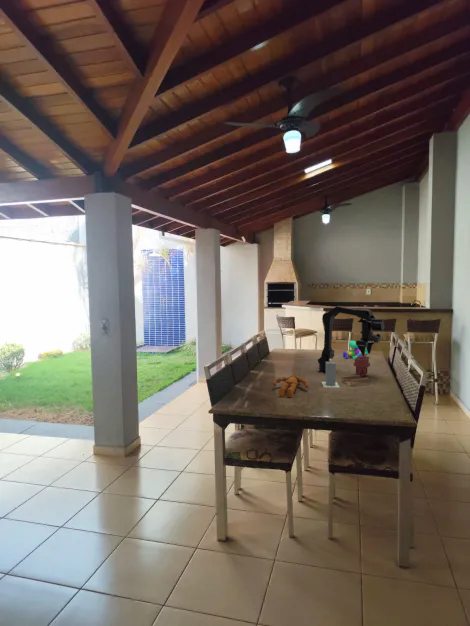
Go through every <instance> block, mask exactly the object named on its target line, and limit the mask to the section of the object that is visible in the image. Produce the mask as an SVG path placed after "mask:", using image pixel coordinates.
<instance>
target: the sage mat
mask: <svg viewBox="0 0 470 626" xmlns="http://www.w3.org/2000/svg"><path fill="white" fill-rule="evenodd" d="M321 383H322V387H323V388H340V385H339V384H338V381H335V386H326V381H321Z"/></svg>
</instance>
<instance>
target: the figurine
mask: <svg viewBox="0 0 470 626" xmlns="http://www.w3.org/2000/svg"><path fill="white" fill-rule="evenodd" d="M356 341H357V340H350V341H349V343H348V346H349V347H350V348H351V349H350V350H347V351H345V350H344V351H342V357H343V358H345V359H346V360H347V359H349V356H350V357H352V361H355V358H356V357H359V356H362V354H361V352H360V350H359V348H358V346H357V345H356ZM368 355H369V354H368V352H367V348H366V349H365V356H364V357H367V356H368Z"/></svg>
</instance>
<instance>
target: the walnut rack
mask: <svg viewBox="0 0 470 626" xmlns="http://www.w3.org/2000/svg"><path fill="white" fill-rule="evenodd" d="M341 383H342V384H344V385H347V386H350V387H351V388H352V387H359V386H369V385H370V378H369V377H365V378H364V377H362V378H361V376H360V375H357V374H355V375H347V376H344V375H343V376H341Z"/></svg>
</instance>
